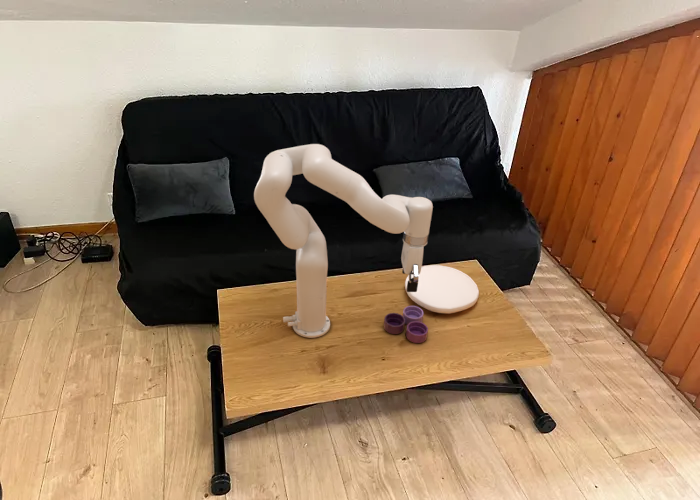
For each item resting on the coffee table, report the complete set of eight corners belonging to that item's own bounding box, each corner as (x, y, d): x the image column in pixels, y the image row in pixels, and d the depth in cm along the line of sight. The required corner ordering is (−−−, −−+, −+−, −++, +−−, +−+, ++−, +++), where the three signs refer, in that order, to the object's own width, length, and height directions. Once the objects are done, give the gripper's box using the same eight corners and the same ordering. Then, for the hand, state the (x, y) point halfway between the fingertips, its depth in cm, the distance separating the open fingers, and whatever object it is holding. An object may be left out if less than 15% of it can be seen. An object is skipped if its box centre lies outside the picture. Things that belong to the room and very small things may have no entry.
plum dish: (409, 345, 160) (411, 336, 158) (402, 331, 165) (404, 322, 163) (429, 342, 161) (431, 333, 159) (422, 328, 167) (423, 320, 165)
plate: (429, 254, 197) (492, 281, 184) (426, 268, 200) (487, 295, 187) (392, 280, 176) (459, 311, 163) (389, 295, 179) (455, 327, 166)
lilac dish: (406, 328, 167) (407, 319, 165) (399, 315, 172) (400, 306, 170) (425, 325, 168) (426, 317, 166) (418, 313, 174) (419, 304, 172)
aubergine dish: (387, 336, 163) (388, 327, 161) (381, 322, 168) (381, 314, 166) (406, 333, 164) (408, 325, 162) (400, 320, 170) (401, 311, 168)
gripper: (399, 222, 157) (394, 266, 166) (407, 252, 142) (401, 298, 151) (422, 222, 157) (416, 267, 166) (433, 252, 143) (425, 299, 152)
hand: (409, 282), depth 159 cm, fingers open, 9 cm apart
